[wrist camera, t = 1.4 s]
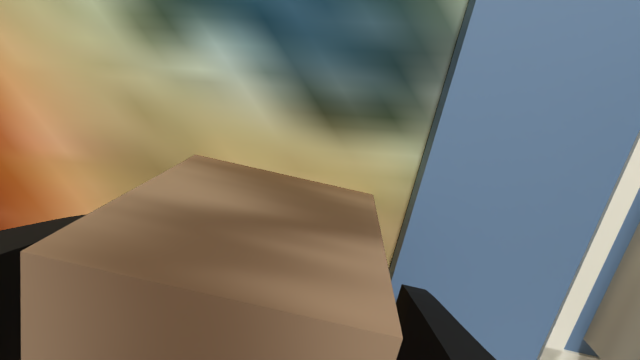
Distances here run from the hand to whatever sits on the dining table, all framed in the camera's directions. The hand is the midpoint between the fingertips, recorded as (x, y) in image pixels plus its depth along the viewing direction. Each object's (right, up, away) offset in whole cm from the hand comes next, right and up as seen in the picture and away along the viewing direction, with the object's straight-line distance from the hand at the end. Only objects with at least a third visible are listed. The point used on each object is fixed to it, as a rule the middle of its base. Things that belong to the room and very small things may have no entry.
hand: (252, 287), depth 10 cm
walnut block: (0, 0, +2) cm, 2 cm away
